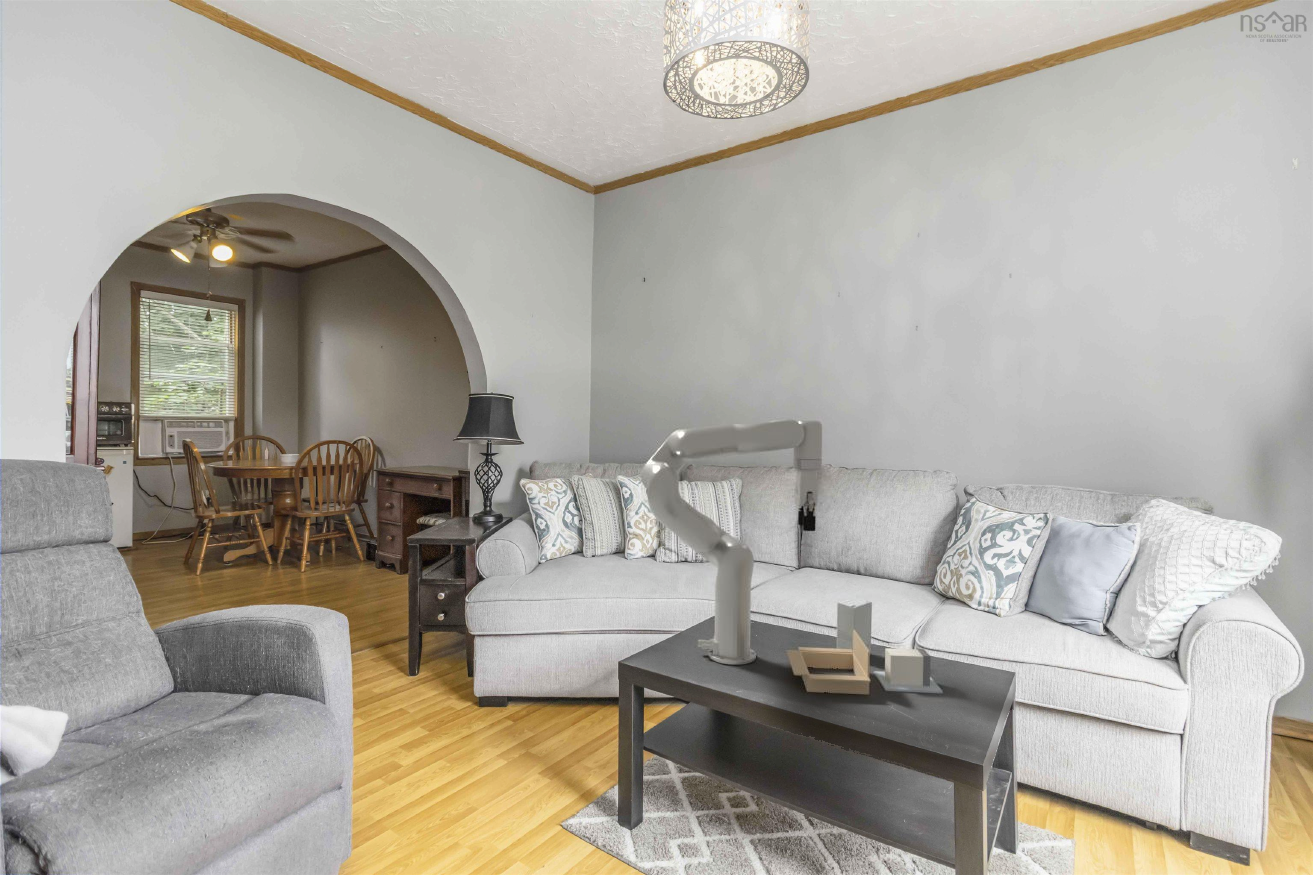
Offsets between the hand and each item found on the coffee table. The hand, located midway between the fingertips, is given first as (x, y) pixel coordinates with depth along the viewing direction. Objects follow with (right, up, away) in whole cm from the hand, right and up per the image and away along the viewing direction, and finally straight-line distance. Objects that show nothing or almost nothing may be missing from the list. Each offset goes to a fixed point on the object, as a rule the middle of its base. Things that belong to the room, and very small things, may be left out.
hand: (806, 527), depth 180 cm
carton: (+1, -35, -18) cm, 39 cm away
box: (+20, -35, -20) cm, 45 cm away
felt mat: (+20, -35, -20) cm, 45 cm away
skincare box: (+13, -35, -1) cm, 37 cm away
